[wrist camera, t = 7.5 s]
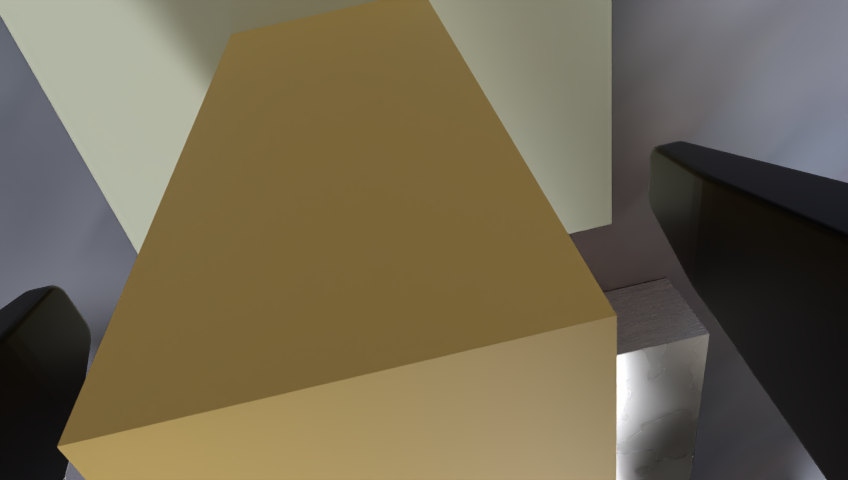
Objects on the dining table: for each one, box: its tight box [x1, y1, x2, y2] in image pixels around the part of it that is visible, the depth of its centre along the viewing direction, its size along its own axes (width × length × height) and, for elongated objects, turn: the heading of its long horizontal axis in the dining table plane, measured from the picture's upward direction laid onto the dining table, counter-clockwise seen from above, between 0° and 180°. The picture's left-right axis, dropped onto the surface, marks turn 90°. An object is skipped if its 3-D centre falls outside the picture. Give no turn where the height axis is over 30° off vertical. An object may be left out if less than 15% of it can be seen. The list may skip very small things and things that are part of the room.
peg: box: [57, 0, 617, 480], centre depth 9 cm, size 4×4×10 cm
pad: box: [0, 0, 612, 254], centre depth 14 cm, size 12×10×1 cm
